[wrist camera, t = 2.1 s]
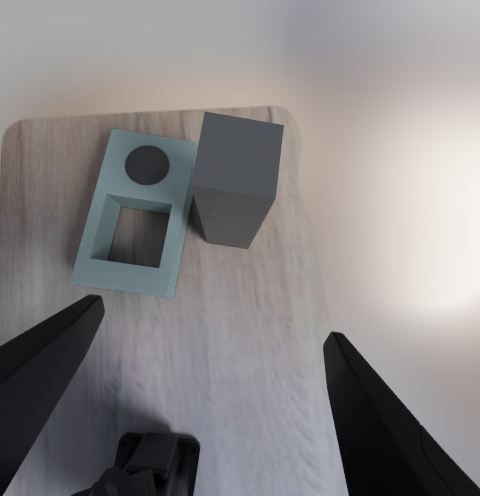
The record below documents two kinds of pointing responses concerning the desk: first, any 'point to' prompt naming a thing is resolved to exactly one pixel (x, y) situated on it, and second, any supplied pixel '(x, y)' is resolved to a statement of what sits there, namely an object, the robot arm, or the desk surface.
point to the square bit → (235, 177)
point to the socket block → (138, 197)
